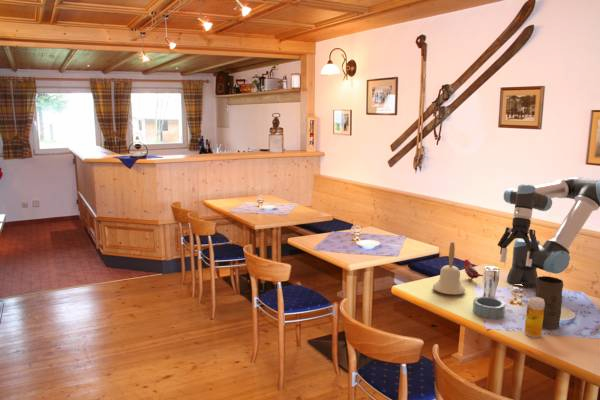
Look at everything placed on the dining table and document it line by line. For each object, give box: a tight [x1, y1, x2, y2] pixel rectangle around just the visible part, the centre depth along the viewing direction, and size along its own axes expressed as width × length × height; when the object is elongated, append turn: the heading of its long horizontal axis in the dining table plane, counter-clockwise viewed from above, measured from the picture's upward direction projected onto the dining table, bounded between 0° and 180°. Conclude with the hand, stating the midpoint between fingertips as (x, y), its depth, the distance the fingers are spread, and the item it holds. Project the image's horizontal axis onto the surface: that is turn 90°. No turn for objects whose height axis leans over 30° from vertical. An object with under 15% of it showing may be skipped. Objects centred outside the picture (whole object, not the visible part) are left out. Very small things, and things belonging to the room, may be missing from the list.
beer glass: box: [481, 266, 500, 299], centre depth 232 cm, size 7×7×15 cm
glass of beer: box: [524, 296, 545, 339], centre depth 195 cm, size 6×6×15 cm
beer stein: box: [534, 275, 564, 330], centre depth 207 cm, size 15×11×20 cm
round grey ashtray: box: [472, 296, 506, 320], centre depth 216 cm, size 12×12×5 cm
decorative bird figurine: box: [463, 259, 483, 282], centre depth 256 cm, size 3×18×10 cm, turn 16°
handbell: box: [432, 241, 466, 296], centre depth 239 cm, size 15×15×25 cm
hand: (515, 264), depth 224 cm, fingers open, 13 cm apart
